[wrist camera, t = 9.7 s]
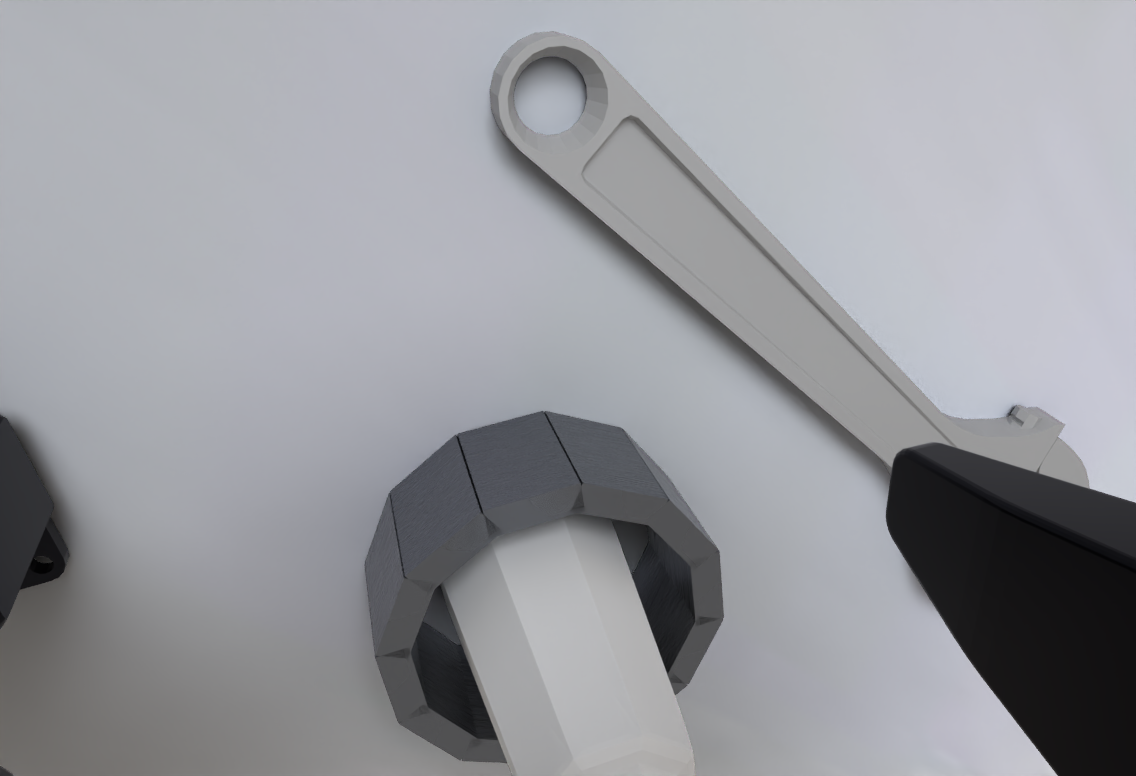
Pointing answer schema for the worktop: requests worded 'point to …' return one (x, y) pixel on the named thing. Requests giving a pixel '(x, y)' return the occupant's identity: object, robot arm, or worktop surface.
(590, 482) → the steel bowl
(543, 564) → the salt shaker
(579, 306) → the worktop surface
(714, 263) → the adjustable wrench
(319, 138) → the worktop surface
